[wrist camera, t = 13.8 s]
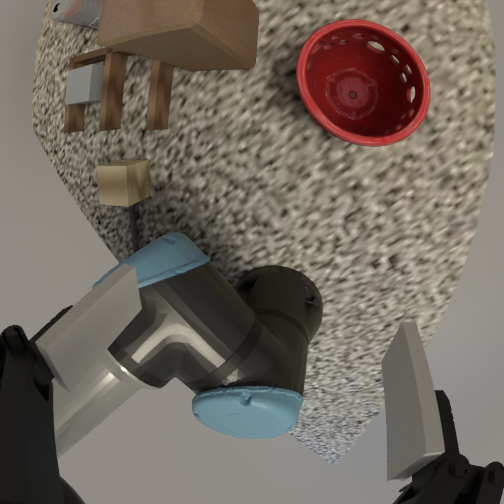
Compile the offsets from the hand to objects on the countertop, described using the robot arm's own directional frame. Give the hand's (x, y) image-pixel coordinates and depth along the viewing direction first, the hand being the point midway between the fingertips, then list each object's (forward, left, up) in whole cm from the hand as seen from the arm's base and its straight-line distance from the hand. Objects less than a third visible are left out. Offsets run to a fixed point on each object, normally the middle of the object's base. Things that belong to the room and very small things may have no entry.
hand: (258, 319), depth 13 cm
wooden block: (+20, +13, -28) cm, 37 cm away
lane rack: (+13, +30, -28) cm, 43 cm away
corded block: (-9, +26, -28) cm, 39 cm away
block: (+14, +35, -28) cm, 47 cm away
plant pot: (+14, -5, -28) cm, 32 cm away
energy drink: (+28, +36, -28) cm, 54 cm away
